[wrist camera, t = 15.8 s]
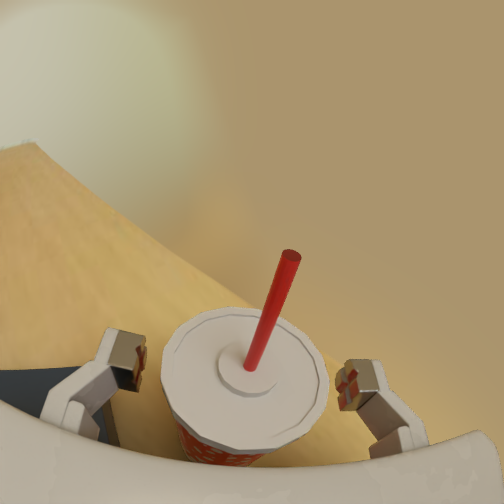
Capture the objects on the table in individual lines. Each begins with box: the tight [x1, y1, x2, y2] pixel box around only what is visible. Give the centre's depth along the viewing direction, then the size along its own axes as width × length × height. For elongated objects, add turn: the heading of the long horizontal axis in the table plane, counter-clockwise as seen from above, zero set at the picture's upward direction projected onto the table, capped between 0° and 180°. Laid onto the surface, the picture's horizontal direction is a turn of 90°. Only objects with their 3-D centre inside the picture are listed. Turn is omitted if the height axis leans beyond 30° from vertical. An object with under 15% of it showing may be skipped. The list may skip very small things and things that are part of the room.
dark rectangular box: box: [0, 366, 120, 448], centre depth 9 cm, size 10×9×4 cm
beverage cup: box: [160, 249, 330, 467], centre depth 11 cm, size 6×6×14 cm
